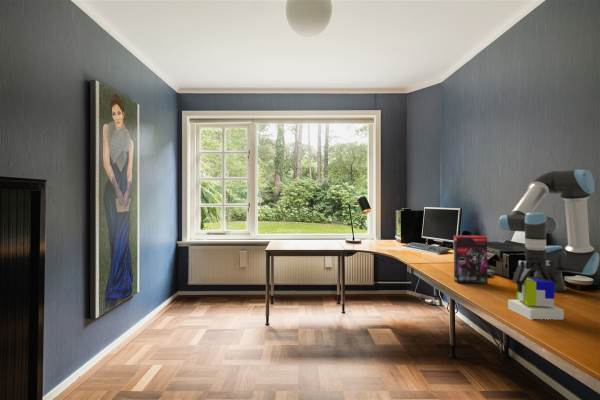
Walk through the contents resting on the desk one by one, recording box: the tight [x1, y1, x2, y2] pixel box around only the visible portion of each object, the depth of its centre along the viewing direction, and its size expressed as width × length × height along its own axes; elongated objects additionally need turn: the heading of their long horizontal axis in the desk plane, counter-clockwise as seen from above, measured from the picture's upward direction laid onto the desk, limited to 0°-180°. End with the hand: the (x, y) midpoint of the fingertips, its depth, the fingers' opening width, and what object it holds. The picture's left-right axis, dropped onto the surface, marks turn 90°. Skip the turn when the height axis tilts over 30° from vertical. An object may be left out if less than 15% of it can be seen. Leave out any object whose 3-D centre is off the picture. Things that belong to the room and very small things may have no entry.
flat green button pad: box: [487, 268, 495, 277], centre depth 221 cm, size 18×18×5 cm
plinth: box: [507, 299, 565, 321], centre depth 145 cm, size 14×14×4 cm
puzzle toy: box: [516, 275, 555, 307], centre depth 145 cm, size 10×10×10 cm
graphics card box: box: [453, 235, 489, 285], centre depth 198 cm, size 17×7×27 cm, turn 83°
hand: (534, 299), depth 145 cm, fingers closed on puzzle toy, 11 cm apart
